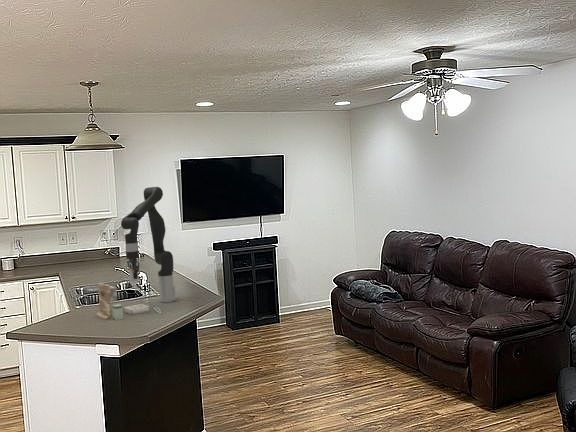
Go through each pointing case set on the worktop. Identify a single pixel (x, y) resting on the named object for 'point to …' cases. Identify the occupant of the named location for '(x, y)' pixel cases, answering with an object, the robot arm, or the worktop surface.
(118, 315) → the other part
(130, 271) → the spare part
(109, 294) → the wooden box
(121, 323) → the worktop surface
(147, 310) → the tray
